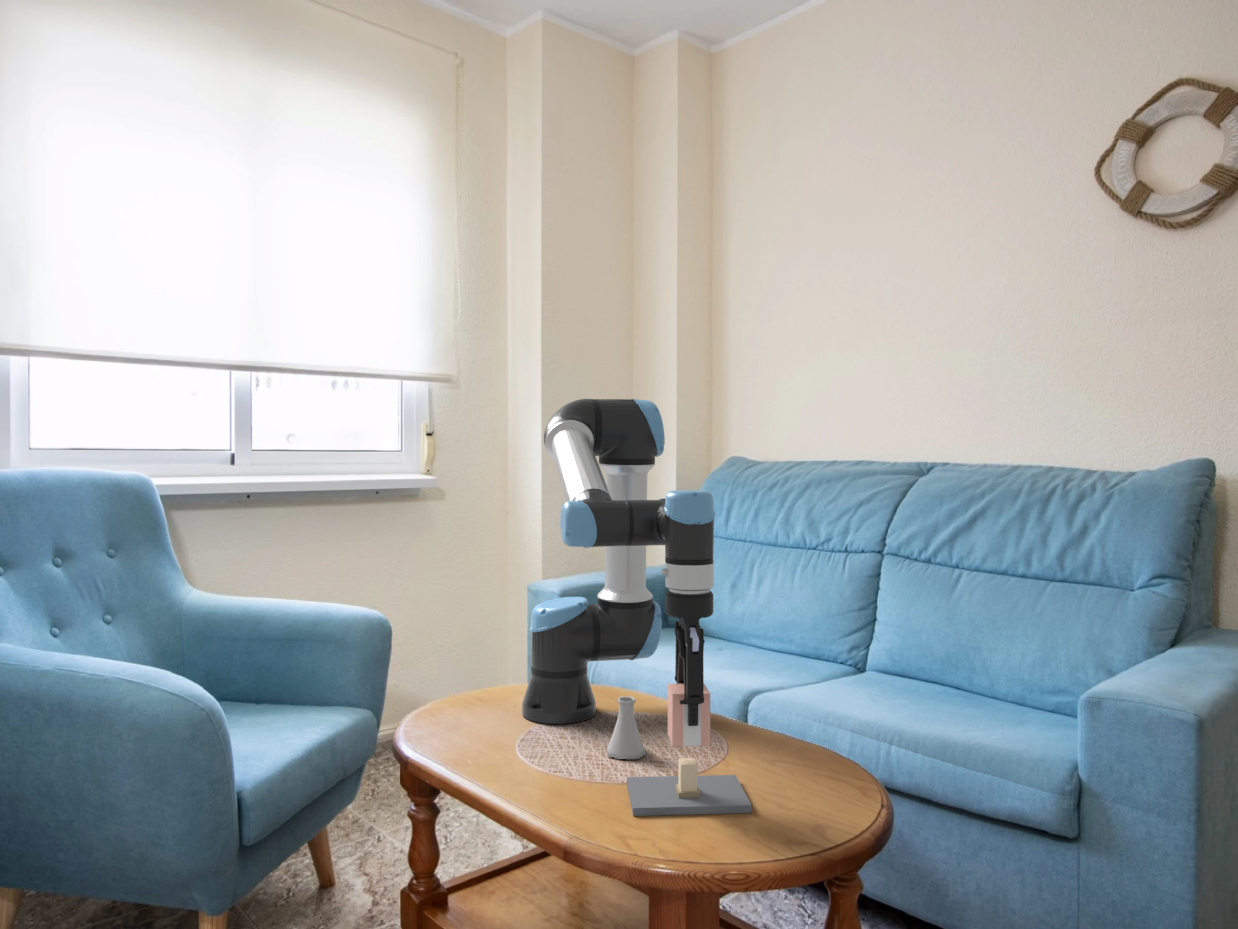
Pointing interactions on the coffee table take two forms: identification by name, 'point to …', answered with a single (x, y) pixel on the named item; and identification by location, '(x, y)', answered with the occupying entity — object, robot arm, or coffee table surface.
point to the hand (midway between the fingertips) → (688, 738)
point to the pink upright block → (677, 715)
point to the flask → (626, 733)
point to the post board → (687, 793)
